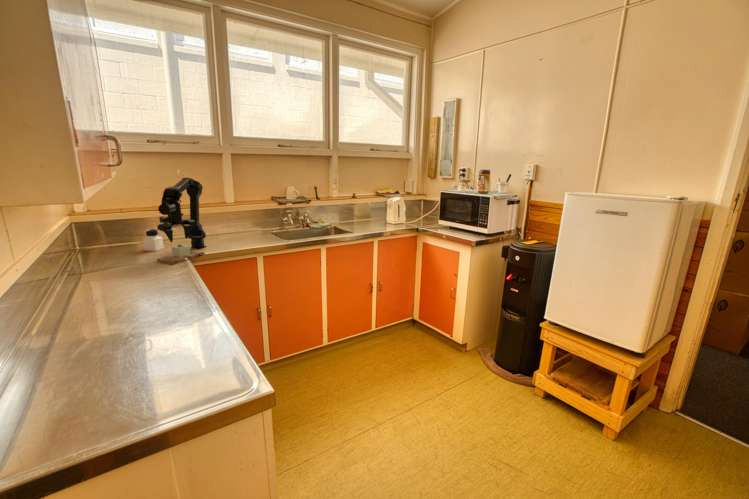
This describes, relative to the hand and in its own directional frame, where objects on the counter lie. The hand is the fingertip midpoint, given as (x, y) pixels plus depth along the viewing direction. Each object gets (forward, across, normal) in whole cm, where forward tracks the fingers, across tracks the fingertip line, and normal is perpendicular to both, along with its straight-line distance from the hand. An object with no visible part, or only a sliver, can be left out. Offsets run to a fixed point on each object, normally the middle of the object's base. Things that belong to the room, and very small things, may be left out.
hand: (179, 240), depth 190 cm
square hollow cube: (+9, 0, 0) cm, 9 cm away
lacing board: (+10, 0, 0) cm, 10 cm away
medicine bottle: (+10, -5, -29) cm, 31 cm away
